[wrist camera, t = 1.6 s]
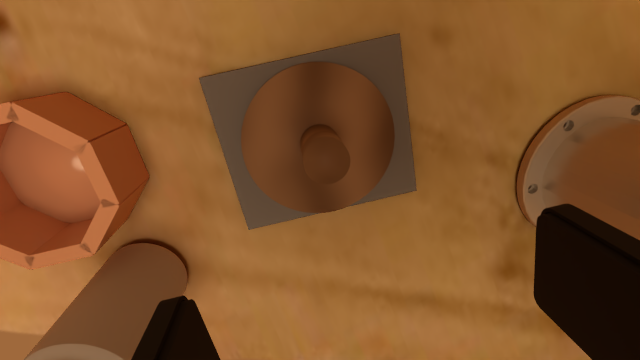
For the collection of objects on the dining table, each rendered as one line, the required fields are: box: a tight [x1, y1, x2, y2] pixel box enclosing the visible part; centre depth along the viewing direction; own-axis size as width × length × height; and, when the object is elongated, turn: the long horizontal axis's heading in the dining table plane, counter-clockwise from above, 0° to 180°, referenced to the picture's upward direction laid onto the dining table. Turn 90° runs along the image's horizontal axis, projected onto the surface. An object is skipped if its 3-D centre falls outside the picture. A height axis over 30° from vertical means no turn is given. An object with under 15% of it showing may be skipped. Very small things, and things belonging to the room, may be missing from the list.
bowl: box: [0, 92, 149, 270], centre depth 22 cm, size 10×10×5 cm
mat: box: [199, 33, 417, 230], centre depth 25 cm, size 14×12×1 cm
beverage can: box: [24, 243, 187, 360], centre depth 23 cm, size 6×6×12 cm
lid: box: [241, 62, 395, 213], centre depth 23 cm, size 11×11×6 cm
